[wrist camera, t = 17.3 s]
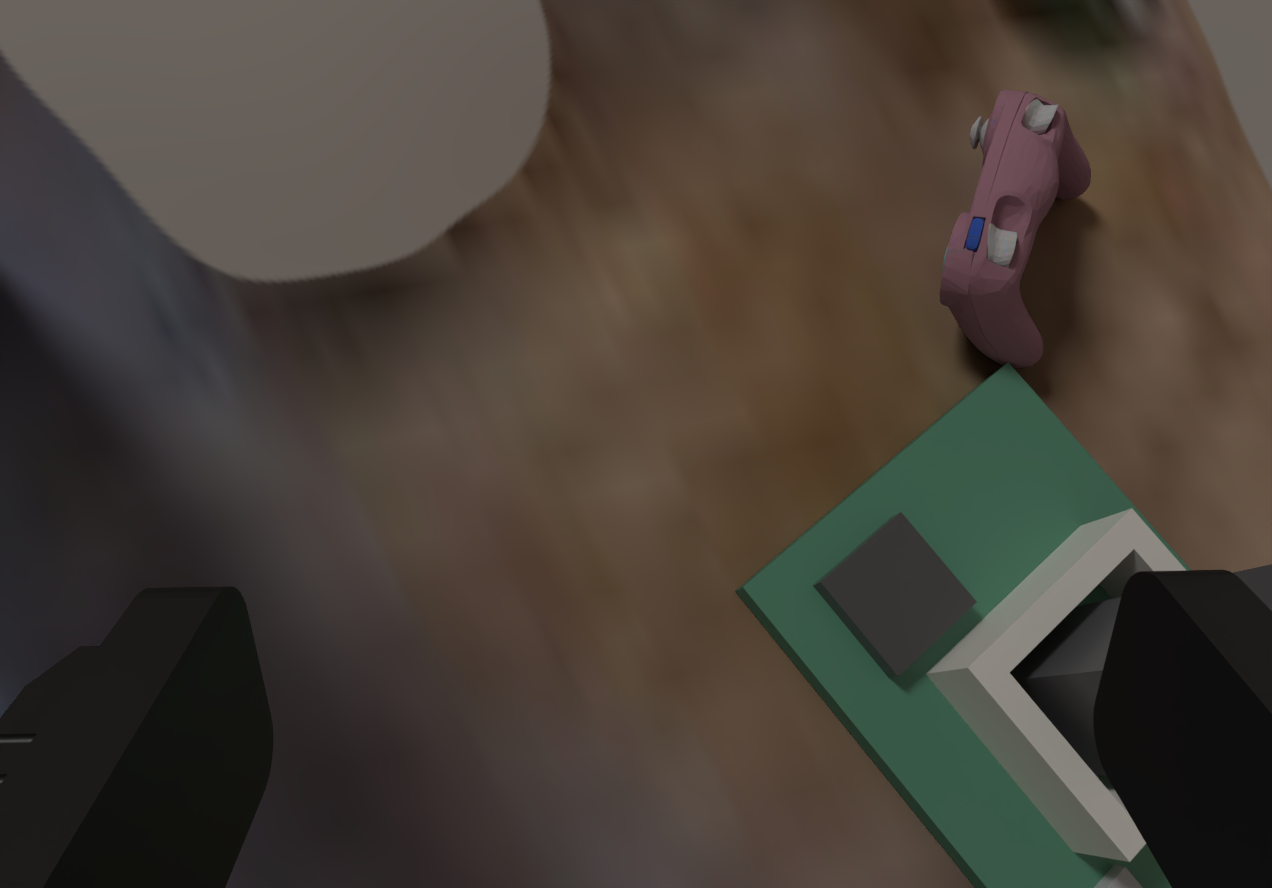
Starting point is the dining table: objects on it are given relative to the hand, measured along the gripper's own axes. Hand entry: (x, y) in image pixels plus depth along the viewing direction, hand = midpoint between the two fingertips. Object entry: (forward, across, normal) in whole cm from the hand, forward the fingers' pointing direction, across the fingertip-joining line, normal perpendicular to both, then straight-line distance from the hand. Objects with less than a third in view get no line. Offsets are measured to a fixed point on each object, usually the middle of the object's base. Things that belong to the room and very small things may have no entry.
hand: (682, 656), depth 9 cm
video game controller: (+33, -14, +6) cm, 36 cm away
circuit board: (+21, -15, +19) cm, 32 cm away
